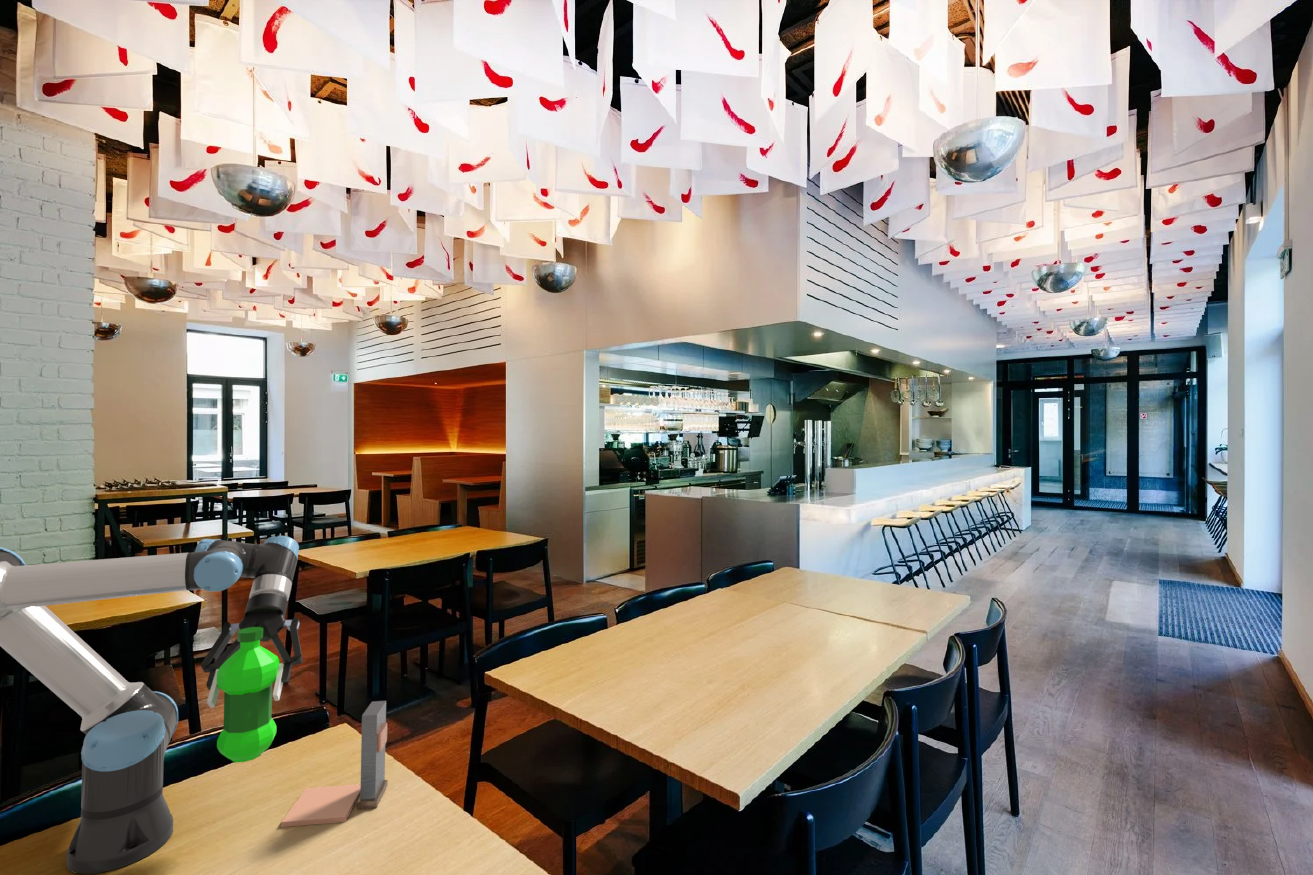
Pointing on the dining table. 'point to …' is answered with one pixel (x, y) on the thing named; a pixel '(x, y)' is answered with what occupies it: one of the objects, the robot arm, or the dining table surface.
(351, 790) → the terracotta pad
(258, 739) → the plastic bottle
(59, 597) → the robot arm
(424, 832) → the dining table surface
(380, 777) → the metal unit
